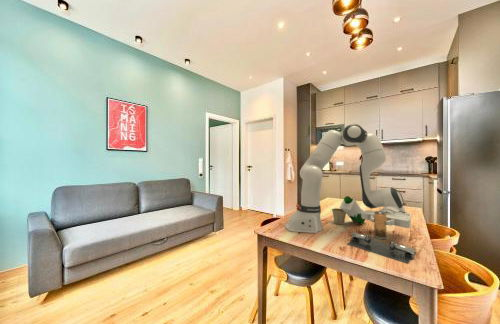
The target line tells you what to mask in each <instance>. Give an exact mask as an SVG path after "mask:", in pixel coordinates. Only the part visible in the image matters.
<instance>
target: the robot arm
mask: <svg viewBox="0 0 500 324" xmlns="http://www.w3.org/2000/svg"><path fill="white" fill-rule="evenodd" d="M340 146H341V147H342V146H343V147H346V148H350V147H354V146H356V147H358V148H359V150H360V153H361V157H362V161H361V164H360V165H359V178H360V186H361V198H362V203H363V205H364V206H366V207H367V208H368V209H377V208H381V209H379V211H381V212H385V213H386V226H396V227H400V228H405V229H410V228H411V226H412V225H411V222H412V221H411V213H410V212H406V209H405V207H404V204H405V201H404V197H403V196H402V193H401V192H400V191H399V190H397V189H396V188H394V187H385V188H380V189H372V186H371V180H370V176H371V174H372V173H373V172H374V171H375V170H377V169H378V168H380V167H381V166H382V165H384V163H385V162H386V158H387V155H386V152H385V149H384V146H383V145H382V142H381V140H380V138H379V137H378V136H377V134H375V133H370V132H369V133H368V132H367V131H366V130H365V129H364V128H363V127H362V126H361V125H360V124H358V123H351V124H349V125H347V126H345V127H344V129H342V131H337V130H334V129H329V130H328V131H327V132H326V133H325V134H324V135H323V136H322V138H320V140H319V142H318V144H317V145H316V147H315V148H314V150H313V151H312V153H311V154H310V155H309V157H308V159H307V160H306V161H305V162H304V164H303V165H302V166H301V168H300V170H299V177H300V179H302V184H301V191H300V195H301V196H300V202H301V203H300V204H297V203H296V204H295V206H296V208H297V210H296V211H295V212H293V214H291V215H289V219H288V222H286V223H285V229H286V230H288V231H289V232H292V233H294V232H295V233H311V234H318V233H319V232H321V231H322V230H323V229H324V228H323V225H322V224H323V223H322V221H321V220H322V219H321V213H322V212H321V211H322V207H321V198H320V197H321V193H320V192H321V187H322V180H323V176H324V175H323V171H322V170H323V169H324V167H326V165H327V164H329V163H330V161H331V159H332V158H333V156H334V154H335V153H336V151H337V150H338V148H339V147H340ZM375 211H376V210H375ZM375 211H374V210H363V212H361V218H362V219H365V221H370V222H371V223H374V212H375Z"/></svg>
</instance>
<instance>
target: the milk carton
mask: <svg viewBox="0 0 500 324" xmlns="http://www.w3.org/2000/svg"><path fill="white" fill-rule="evenodd" d="M339 209H342V210H343V211H344V212H345V213H346V215H347V216H348V217H349V219H351V221H352V222H354V223H356V224H357V223H358V224H360V225H364V224H365V221H366V220H365V219H362V218H361V212H363V211H364V210H363V209H362V208H361V207H360V205H359V204H358V203H357V200H356V199H354V198H351V197H350V196H348V195H347V196H346V195H345V197H344V198H343V200H342V201H341V203H340V206H339Z"/></svg>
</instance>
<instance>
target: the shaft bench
mask: <svg viewBox="0 0 500 324" xmlns="http://www.w3.org/2000/svg"><path fill="white" fill-rule="evenodd" d="M350 236H351V240H350V241H349V242H347V243H346V245H348V246H350V247H355V248H358V249H361V250H364V251H367V252H370V253H374V254H377V255H380V256H383V257H384V258H385V257H386V258H390V259H392V260H395V261H399V262H401V263H404V262H405V264H407V263H408V264H409V263H410V262H411V260H412V261H413V258H414V257H415V255H416V254H417V251H415V248H414V247H410V246H407V245H403V244H399V243H396V242H395V241H393V240H390V242H389V244H388V243H384V242H382V241H376V240H375V239H374V240H373V239H372V235H369V234H361V233H358V232H354V231H352V232H351V234H350Z"/></svg>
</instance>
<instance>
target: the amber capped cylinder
mask: <svg viewBox="0 0 500 324" xmlns="http://www.w3.org/2000/svg"><path fill="white" fill-rule="evenodd" d="M373 223H374V224H373V226H374V233H373V238H375V239H376V240H381V241H386V240H388V235H387V232H388V231H387V225H386V213H385V212H381V211H380V210H375V212H374V222H373Z"/></svg>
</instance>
